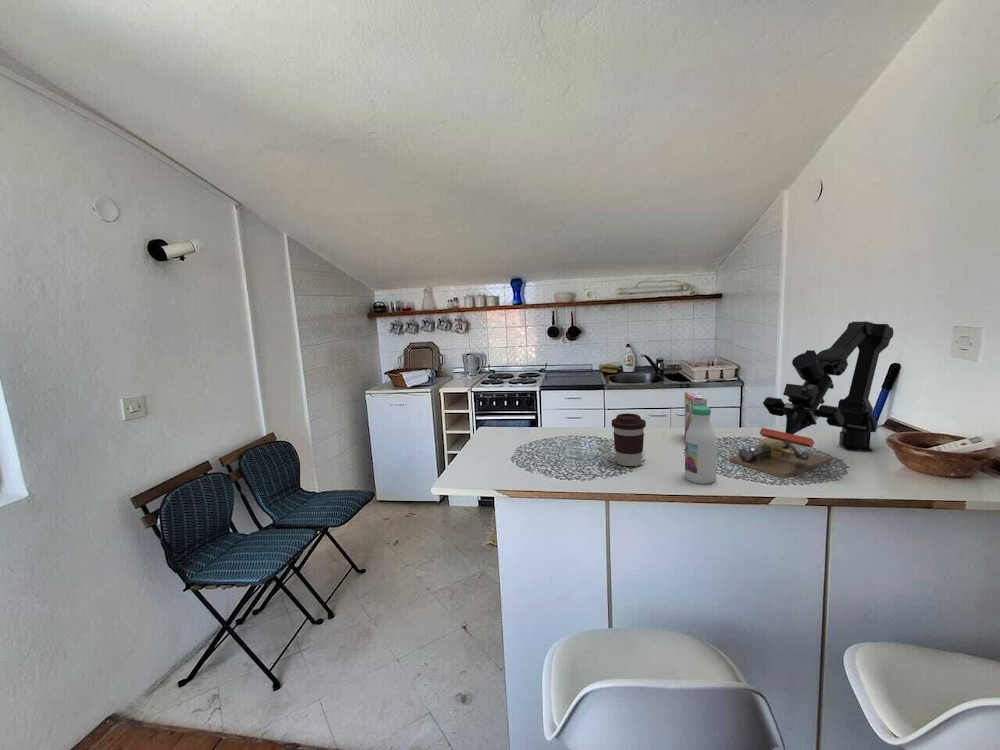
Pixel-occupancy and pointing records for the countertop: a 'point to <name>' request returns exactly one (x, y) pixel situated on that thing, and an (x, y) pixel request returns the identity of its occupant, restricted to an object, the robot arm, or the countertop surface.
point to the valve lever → (790, 441)
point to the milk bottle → (700, 448)
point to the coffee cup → (628, 438)
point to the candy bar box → (692, 401)
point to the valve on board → (777, 459)
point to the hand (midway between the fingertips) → (787, 435)
